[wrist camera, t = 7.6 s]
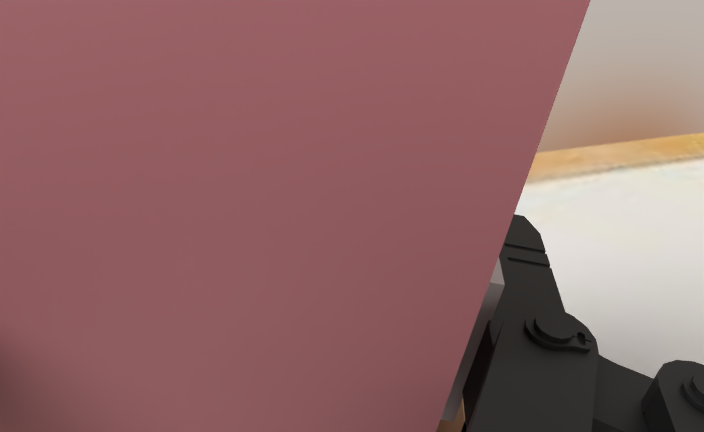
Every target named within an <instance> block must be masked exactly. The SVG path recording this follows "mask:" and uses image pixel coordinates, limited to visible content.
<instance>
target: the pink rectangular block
mask: <svg viewBox="0 0 704 432" xmlns="http://www.w3.org/2000/svg"><path fill="white" fill-rule="evenodd" d="M589 3H590V0H0V432H436V430H437V428H438V425H439V422H440V419H441V416H442V414H443V411H444V408H445V405H446V402H447V400H448V397H449V394H450V391H451V389H452V386H453V383H454V380H455V377H456V375H457V372H458V369H459V366H460V363H461V361H462V358H463V355H464V352H465V349H466V347H467V344H468V341H469V338H470V335H471V333H472V330H473V327H474V324H475V321H476V319H477V316H478V313H479V310H480V307H481V305H482V302H483V299H484V296H485V293H486V291H487V288H488V285H489V282H490V279H491V277H492V274H493V271H494V268H495V266H496V263H497V260H498V257H499V254H500V252H501V249H502V246H503V243H504V240H505V238H506V235H507V232H508V229H509V226H510V224H511V221H512V218H513V215H514V212H515V210H516V207H517V204H518V201H519V198H520V196H521V193H522V190H523V187H524V184H525V182H526V179H527V176H528V173H529V170H530V168H531V165H532V162H533V159H534V156H535V154H536V151H537V148H538V145H539V143H540V140H541V137H542V134H543V131H544V129H545V126H546V123H547V120H548V117H549V114H550V112H551V109H552V106H553V103H554V101H555V98H556V95H557V92H558V89H559V87H560V84H561V81H562V78H563V75H564V72H565V69H566V67H567V64H568V61H569V59H570V56H571V53H572V50H573V47H574V45H575V42H576V39H577V36H578V33H579V31H580V28H581V25H582V22H583V20H584V17H585V14H586V11H587V8H588V6H589Z"/></svg>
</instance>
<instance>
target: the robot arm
mask: <svg viewBox="0 0 704 432" xmlns="http://www.w3.org/2000/svg"><path fill="white" fill-rule="evenodd" d="M462 398H463V403H464V413H465V422H464V424H463V427H462V429H461V432H704V365H702V364H699V363H696V362H692V361H681V360H675V361H672V362H668V363H665V364H663V366H662V367H661V369H660V370H659V371H658V373H657V375H656V376H655V378H654V379H653V378H650V377H648V376H645V375H643V374H640V373H638V372H635V371H633V370H630V369H628V368H625V367H623V366H620V365H618V364H616V363H614V362H612V361H610V360H608V359H606V358H604V357H602V356H601V355H599V354H598V347H597V342H596V339H595V338H594V336H593V335H592V334H591V332H590V331H589V329H588V328H587V327H586V326H585V325H584V324H582V323H581V322H580V321H578V320H577V319H576V318H575V317H573V316H572V315H570V314H568V313H566V312H565V310H564V307H563V303H562V300H561V297H560V294H559V291H558V288H557V285H556V282H555V279H554V276H553V272H552V269H551V268H550V263H549V260H548V257H547V254H545V248H544V245H543V241H542V238H541V235H540V233H539V232H538V231H537V230H536V229H535V228H534V226H533V225H532V224H531V223H530V222H529V221H528V220H527V219H526V218H525V217H524V216H520V215H515V214H514V215H513V218H512V221H511V224H510V226H509V229H508V232H507V235H506V238H505V240H504V243H503V246H502V249H501V252H500V254H499V257H498V260H497V263H496V266H495V268H494V271H493V274H492V277H491V279H490V282H489V285H488V288H487V291H486V293H485V296H484V299H483V302H482V305H481V307H480V310H479V313H478V316H477V319H476V321H475V324H474V327H473V330H472V333H471V335H470V338H469V341H468V344H467V347H466V349H465V352H464V355H463V358H462V361H461V363H460V366H459V369H458V372H457V375H456V377H455V380H454V383H453V386H452V389H451V391H450V394H449V397H448V400H447V402H446V405H445V408H444V411H443V414H442V416H441V420H447V421H452V422H454V420H455V417H456V414H457V412H458V409H459V406H460V404H461V401H462Z"/></svg>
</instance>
